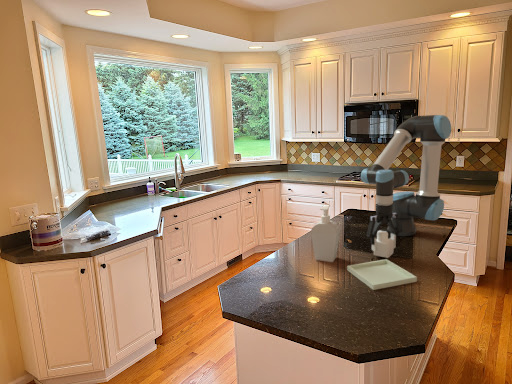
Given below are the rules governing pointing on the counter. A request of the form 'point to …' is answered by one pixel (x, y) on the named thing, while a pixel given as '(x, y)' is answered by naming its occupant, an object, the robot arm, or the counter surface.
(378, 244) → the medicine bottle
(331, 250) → the soap bottle
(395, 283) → the tray
